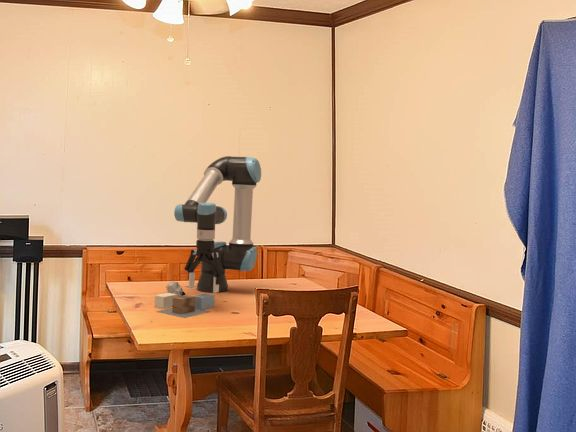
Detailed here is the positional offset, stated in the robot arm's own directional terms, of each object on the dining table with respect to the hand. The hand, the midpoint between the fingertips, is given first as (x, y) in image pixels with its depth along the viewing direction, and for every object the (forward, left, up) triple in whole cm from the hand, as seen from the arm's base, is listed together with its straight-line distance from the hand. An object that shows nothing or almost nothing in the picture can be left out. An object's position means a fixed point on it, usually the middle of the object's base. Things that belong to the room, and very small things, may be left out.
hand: (203, 290), depth 292 cm
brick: (+10, -12, -9) cm, 18 cm away
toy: (-2, -18, -9) cm, 21 cm away
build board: (+12, 0, -8) cm, 14 cm away
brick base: (+12, 0, -7) cm, 14 cm away
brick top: (0, 0, -9) cm, 9 cm away
